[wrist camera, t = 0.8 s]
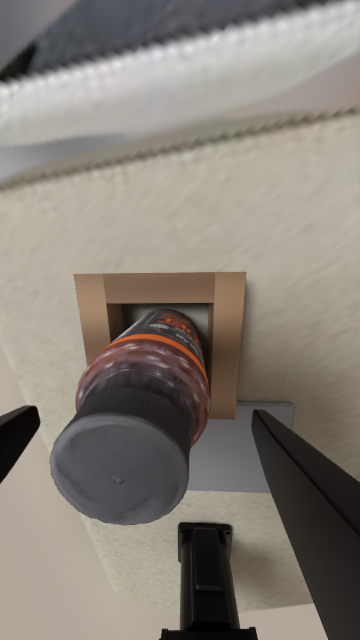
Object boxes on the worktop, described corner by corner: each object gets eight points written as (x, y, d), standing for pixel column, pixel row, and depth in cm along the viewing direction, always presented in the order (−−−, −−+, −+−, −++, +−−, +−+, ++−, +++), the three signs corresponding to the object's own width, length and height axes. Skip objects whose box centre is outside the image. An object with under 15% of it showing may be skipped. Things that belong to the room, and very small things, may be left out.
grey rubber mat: (277, 486, 19) (279, 493, 19) (136, 482, 20) (134, 488, 19) (290, 402, 17) (294, 407, 16) (128, 400, 17) (126, 404, 17)
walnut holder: (226, 395, 17) (235, 419, 14) (110, 393, 17) (95, 417, 14) (233, 273, 14) (246, 271, 11) (96, 274, 15) (73, 274, 12)
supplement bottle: (211, 328, 15) (276, 457, 4) (177, 379, 17) (162, 576, 6) (152, 294, 15) (56, 340, 4) (122, 349, 16) (-15, 503, 5)
